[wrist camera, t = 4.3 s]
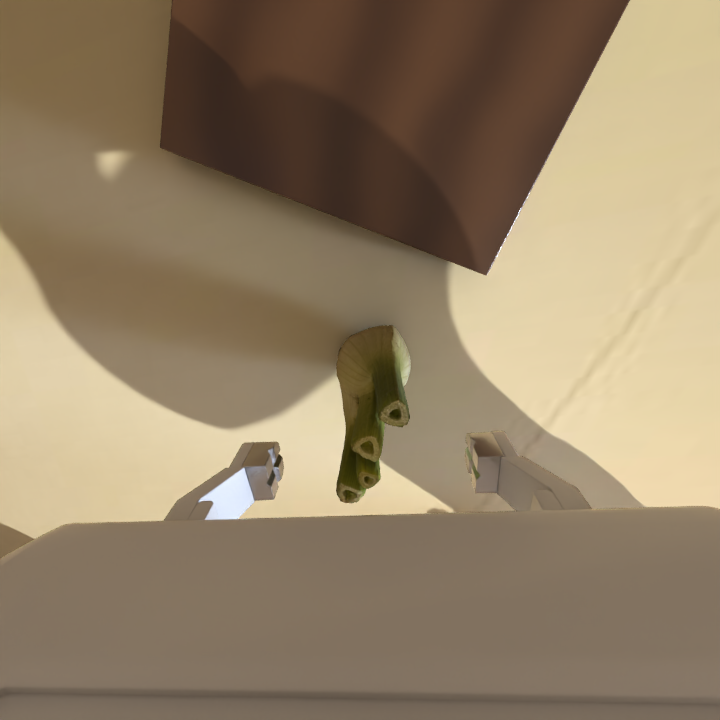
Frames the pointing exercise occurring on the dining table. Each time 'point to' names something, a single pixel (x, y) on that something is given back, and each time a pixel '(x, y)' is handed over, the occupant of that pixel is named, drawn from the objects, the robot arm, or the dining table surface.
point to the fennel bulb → (370, 403)
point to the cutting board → (385, 105)
